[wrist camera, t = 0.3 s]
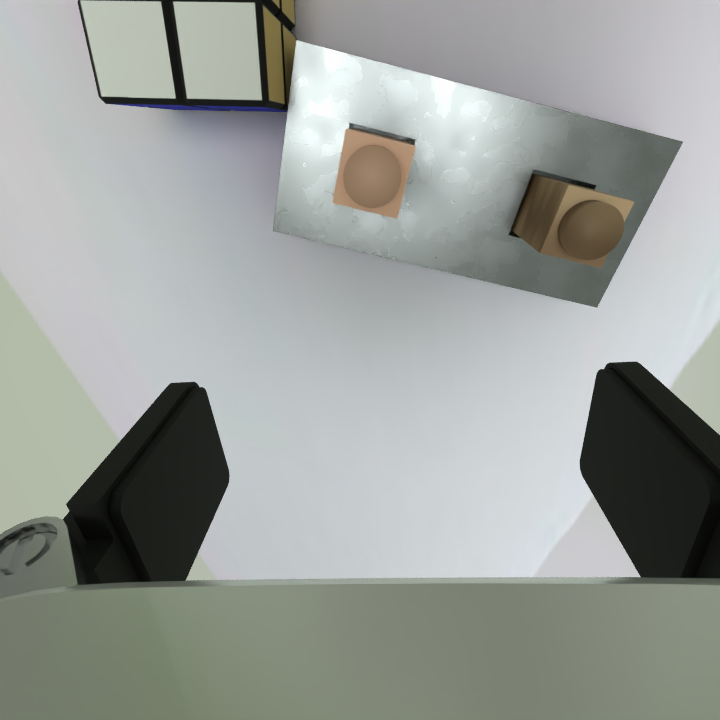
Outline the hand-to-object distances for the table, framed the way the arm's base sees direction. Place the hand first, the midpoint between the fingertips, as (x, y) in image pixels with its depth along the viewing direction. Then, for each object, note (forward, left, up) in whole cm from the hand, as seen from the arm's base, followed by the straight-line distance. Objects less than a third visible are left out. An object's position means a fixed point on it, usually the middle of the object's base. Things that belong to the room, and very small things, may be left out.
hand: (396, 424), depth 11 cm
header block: (-4, +5, -30) cm, 30 cm away
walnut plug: (-4, +11, -28) cm, 31 cm away
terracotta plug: (-4, -2, -28) cm, 29 cm away
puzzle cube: (-10, -14, -30) cm, 35 cm away
